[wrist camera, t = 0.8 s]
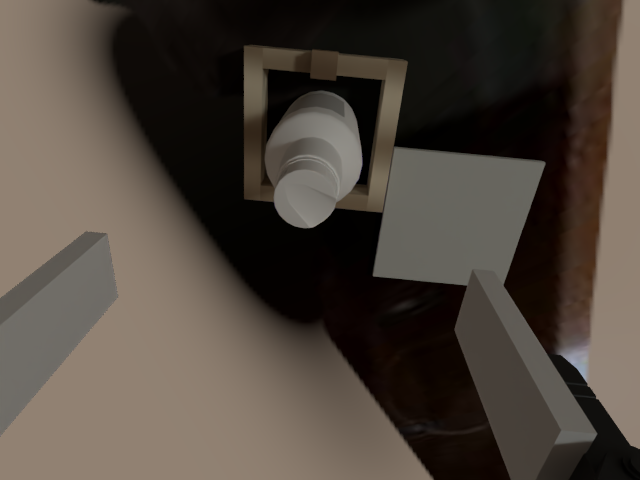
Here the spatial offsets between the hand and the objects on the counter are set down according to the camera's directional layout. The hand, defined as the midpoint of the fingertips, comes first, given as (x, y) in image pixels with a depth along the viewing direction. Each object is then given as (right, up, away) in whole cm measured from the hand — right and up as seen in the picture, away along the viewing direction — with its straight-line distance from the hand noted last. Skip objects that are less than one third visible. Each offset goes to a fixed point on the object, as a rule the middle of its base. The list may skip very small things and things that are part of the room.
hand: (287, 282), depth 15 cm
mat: (+15, +3, +27) cm, 30 cm away
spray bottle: (+1, +12, +23) cm, 26 cm away
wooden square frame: (+1, +12, +23) cm, 26 cm away
